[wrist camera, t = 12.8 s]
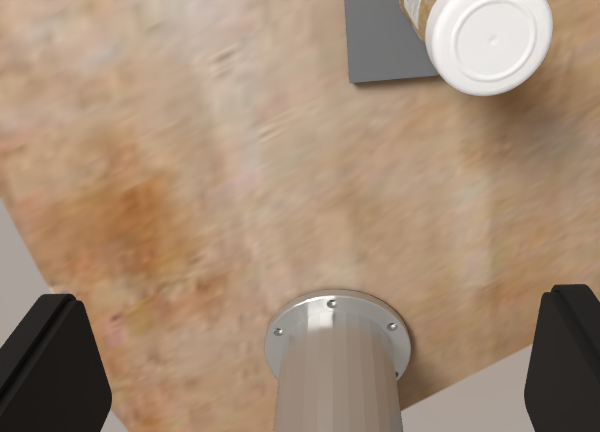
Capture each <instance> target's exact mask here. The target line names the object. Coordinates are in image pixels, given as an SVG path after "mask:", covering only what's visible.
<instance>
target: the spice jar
mask: <svg viewBox="0 0 600 432" xmlns="http://www.w3.org/2000/svg"><path fill="white" fill-rule="evenodd" d="M398 1H399V5H400V8H401V10H402V12H403V13H404V14H405V16H406V17H407V18H408V19H409V20H410V21H411V24H412V26H413V28H414V30H415V31H416V33H417V35H418V36H419V38H420V39H421V40H422V41H423V42H424V43H425V45H426V48H427V52H428V55H429V58H430V60H431V62H432V64H433V65H434V67H435V69H436V70H437V72H438V73H439V74H440V75H441V77H442V78H443V79H444V80H445V81H446V82H447V83H448V84H449V85H450V86H452V87H453V88H455V89H457V90H458V91H460V92H463V93H466V94H470V95H475V96H491V95H496V94H501V93H504V92H506V91H509V90H511V89H513V88H515V87H517V86H518V85H520V84H521V83H523V82H524V81H525V80H527V79H528V78H529V77H530V76H531V75H532V74H533V73H534V72H535V71H536V70H537V68H538V67H539V66H540V64H541V63H542V61H543V60H544V58H545V56H546V54H547V51H548V49H549V46H550V43H551V39H552V33H553V20H552V13H551V10H550V7H549V4H548V2H547V0H398Z"/></svg>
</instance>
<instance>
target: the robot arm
mask: <svg viewBox="0 0 600 432" xmlns="http://www.w3.org/2000/svg"><path fill="white" fill-rule="evenodd" d="M264 352H265V358H266V362H267V364H268V366H269V368H270V370H271V372H272V373H273V374H274V376H275V377H276V378H277V380H279V381H278V390H277V399H276V408H275V418H274V427H273V432H403V426H402V419H401V411H400V403H399V396H398V388H397V381H398V380H399V379H400V378H401V376H402V375H403V373H404V372H405V370H406V368H407V366H408V363H409V361H410V354H411V346H410V338H409V334H408V331H407V327H406V326H405V324H404V322H403V320H402V318H401V317H400V316H399V315H398V314H397V313H396V312H395V311H394V309H392V308H391V307H390V306H388V305H387V304H386V303H384V302H383V301H381V300H379V299H377V298H375V297H373V296H371V295H367V294H364V293H361V292H357V291H350V290H343V289H336V290H323V291H317V292H312V293H309V294H306V295H303V296H300V297H298V298H297V299H295V300H293V301H291V302H289V303H288V304H287V305H285V306H284V307H283V308H282V309H280V310H279V311H278V313H277V314H276V315H275V316H274V317H273V319H272V320H271V322H270V324H269V327H268V329H267V333H266V338H265V347H264ZM524 398H525V405H526V409H527V412H528V414H529V417H530V420H531V422H532V424H533V427H534V430H535V432H600V302H599V301H598V299H597V298H596V296H595V295H594V293H593V292H592V290H591V289H590V288H589V287H588V286H587V285H585V284H570V285H554V286H553V288H552V289H551V292H545V293H544V294H543V295H542V299H541V304H540V309H539V314H538V320H537V325H536V331H535V336H534V341H533V347H532V352H531V357H530V363H529V368H528V373H527V379H526V384H525V390H524ZM111 403H112V393H111V389H110V386H109V383H108V380H107V377H106V373H105V370H104V367H103V364H102V361H101V357H100V354H99V351H98V348H97V345H96V342H95V338H94V335H93V332H92V329H91V326H90V322H89V319H88V316H87V313H86V310H85V306H84V304H83V303H82V301H79V300H78V301H77V300H76V298H75V297H74V296H73V295H72V294H44V295H42V296H40V297H39V298H38V300H37V301H36V302H35V304H34V305H33V306H32V308H31V309H30V310H29V311H28V313H27V314H26V315H25V317H24V318H23V319H22V321H21V322H20V323H19V325H18V326H17V327H16V329H15V330H14V331H13V333H12V334H11V335H10V336H9V338H8V339H7V341H6V342H5V343H4V344H3V346H2V347H1V348H0V432H100V431H101V429H102V427H103V424H104V422H105V420H106V418H107V415H108V413H109V411H110V408H111Z"/></svg>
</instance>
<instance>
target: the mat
mask: <svg viewBox="0 0 600 432" xmlns="http://www.w3.org/2000/svg"><path fill="white" fill-rule="evenodd" d="M345 17H346V33H347V49H348V65H349V81H350V83H357V82H368V81H379V80H391V79H402V78H413V77H425V76H436V75H440V74H439V73H438V72H437V70H436V69H435V67H434V65H433V64H432V62H431V60H430V58H429V55H428V52H427V48H426V45H425V43H424V42H423V41H422V40H421V39H420V38H419V36H418V35H417V33H416V31H415V30H414V28H413V26H412V24H411V21H410V20H409V19H408V18H407V17H406V16H405V14H404V13H403V12H402V10H401V8H400V5H399V1H398V0H345Z"/></svg>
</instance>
